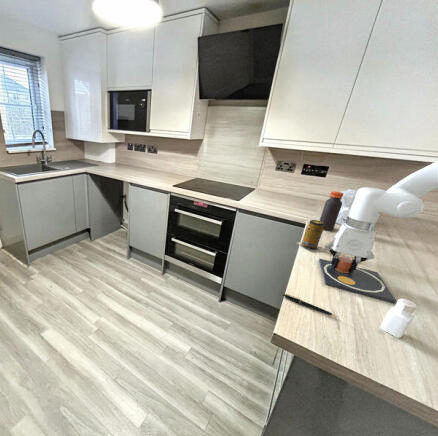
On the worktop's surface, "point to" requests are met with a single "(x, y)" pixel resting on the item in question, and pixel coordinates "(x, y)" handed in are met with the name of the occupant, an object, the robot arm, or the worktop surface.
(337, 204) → the bottle
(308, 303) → the fountain pen
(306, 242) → the condiment
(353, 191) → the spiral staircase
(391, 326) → the pepper shaker
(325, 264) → the face board
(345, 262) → the red faceted block
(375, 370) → the worktop surface
